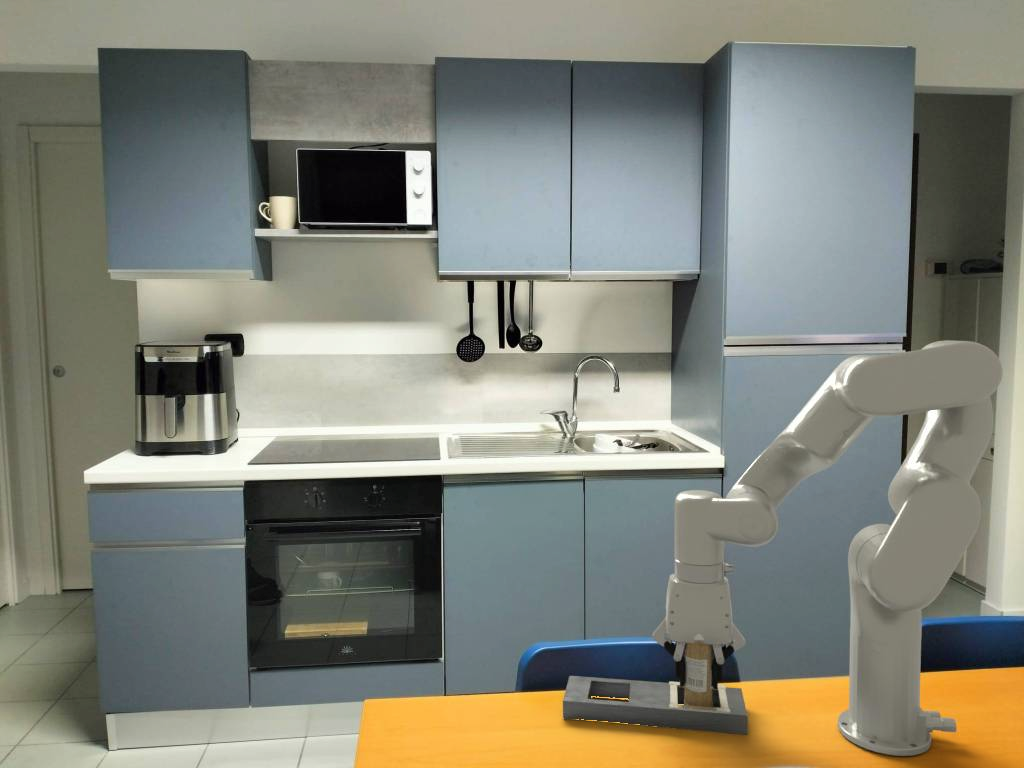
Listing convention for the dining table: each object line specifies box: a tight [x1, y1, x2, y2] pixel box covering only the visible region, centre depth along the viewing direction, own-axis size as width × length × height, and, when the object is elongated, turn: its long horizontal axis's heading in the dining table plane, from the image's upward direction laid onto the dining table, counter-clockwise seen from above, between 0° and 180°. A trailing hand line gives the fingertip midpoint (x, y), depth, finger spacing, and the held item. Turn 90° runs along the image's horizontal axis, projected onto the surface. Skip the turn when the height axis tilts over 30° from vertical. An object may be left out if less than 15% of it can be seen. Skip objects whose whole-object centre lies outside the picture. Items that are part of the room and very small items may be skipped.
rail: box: [562, 675, 748, 736], centre depth 122 cm, size 28×9×3 cm, turn 79°
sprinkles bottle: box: [683, 634, 713, 707], centre depth 120 cm, size 5×5×14 cm
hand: (698, 682), depth 120 cm, fingers closed on sprinkles bottle, 4 cm apart
